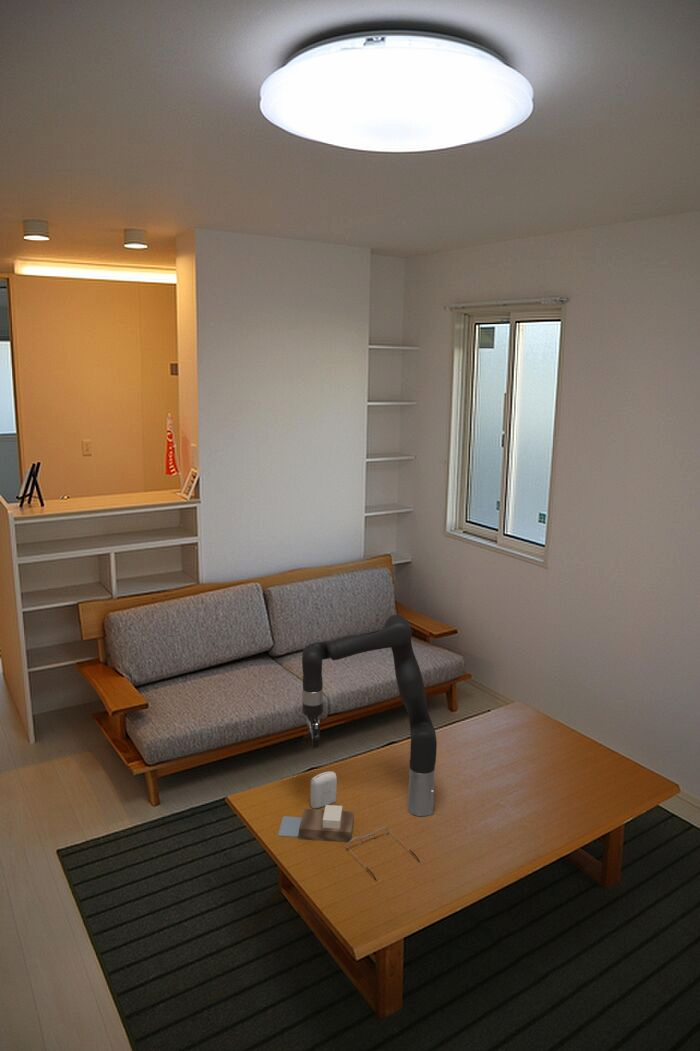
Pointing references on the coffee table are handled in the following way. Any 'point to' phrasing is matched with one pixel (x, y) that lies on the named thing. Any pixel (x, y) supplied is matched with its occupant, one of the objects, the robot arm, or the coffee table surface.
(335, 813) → the cream rectangular block
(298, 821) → the mat
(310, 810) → the brown flat block
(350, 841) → the eyeglasses
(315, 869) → the coffee table surface
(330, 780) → the photo printer
